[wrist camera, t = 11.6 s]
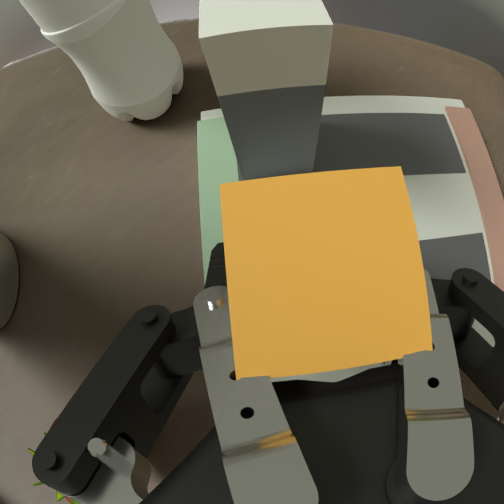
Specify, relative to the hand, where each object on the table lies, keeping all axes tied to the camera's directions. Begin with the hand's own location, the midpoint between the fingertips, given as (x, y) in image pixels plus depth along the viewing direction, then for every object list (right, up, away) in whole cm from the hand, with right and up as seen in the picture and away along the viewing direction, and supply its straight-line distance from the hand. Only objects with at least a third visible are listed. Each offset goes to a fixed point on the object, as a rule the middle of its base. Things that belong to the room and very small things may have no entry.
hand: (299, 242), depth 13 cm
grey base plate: (+6, +1, +7) cm, 9 cm away
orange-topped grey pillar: (+1, -3, +4) cm, 5 cm away
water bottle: (-10, +12, +11) cm, 20 cm away
